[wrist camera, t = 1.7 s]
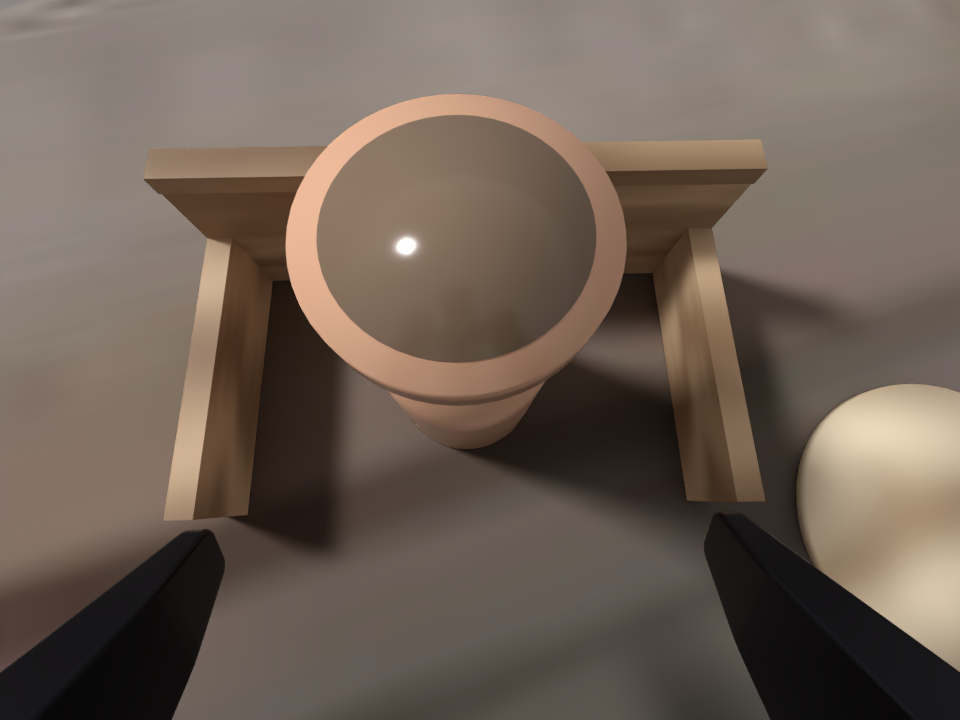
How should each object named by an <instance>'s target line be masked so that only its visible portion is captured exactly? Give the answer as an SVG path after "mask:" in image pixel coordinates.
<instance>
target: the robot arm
mask: <svg viewBox="0 0 960 720" xmlns="http://www.w3.org/2000/svg"><path fill="white" fill-rule="evenodd" d="M704 552H705V557H706V560H707V563H708V565H709V568H710V571H711V574H712V577H713V580H714V583H715V586H716V589H717V591H718V594H719V597H720V600H721V603H722V606H723V609H724V612H725V615H726V618H727V620H728V623H729V626H730V629H731V632H732V634H733V637H734V640H735V642H736V645H737V647H738V649H739V652H740V654H741V656H742V659H743V661H744V663H745V665H746V667H747V670H748V672H749V674H750V676H751V678H752V680H753V683H754V685H755V687H756V689H757V691H758V694H759V696H760V698H761V700H762V702H763V705H764V707H765V709H766V711H767V713H768V715H769V718H770V720H960V672H959V671H958V670H957V669H955V668H954V667H953V666H951V665H950V664H948V663H947V662H946V661H944V660H943V659H941V658H940V657H939V656H937V655H936V654H935V653H933V652H932V651H930V650H929V649H928V648H926V647H925V646H924V645H922V644H921V643H919V642H918V641H917V640H915V639H914V638H913V637H911V636H910V635H908V634H907V633H906V632H904V631H903V630H902V629H900V628H899V627H897V626H896V625H895V624H893V623H892V622H891V621H889V620H888V619H886V618H885V617H884V616H882V615H881V614H880V613H878V612H877V611H875V610H874V609H873V608H871V607H870V606H869V605H867V604H866V603H864V602H863V601H862V600H860V599H859V598H857V597H856V596H855V595H853V594H852V593H851V592H849V591H848V590H846V589H845V588H844V587H842V586H841V585H840V584H838V583H837V582H835V581H834V580H833V579H831V578H830V577H829V576H827V575H826V574H824V573H823V572H822V571H820V570H819V569H818V568H816V567H815V566H813V565H812V564H811V563H809V562H808V561H807V560H805V559H804V558H802V557H801V556H800V555H798V554H797V553H796V552H794V551H793V550H791V549H790V548H789V547H787V546H786V545H784V544H783V543H782V542H780V541H779V540H778V539H776V538H775V537H773V536H772V535H771V534H769V533H768V532H767V531H765V530H764V529H762V528H761V527H760V526H758V525H757V524H756V523H754V522H753V521H751V520H750V519H749V518H747V517H746V516H745V515H743V514H741V513H739V512H718V513H716V514H715V515H713V517H712V520H711V523H710V526H709V529H708V532H707V535H706V538H705V542H704ZM224 570H225V560H224V557H223V554H222V552H221V549H220V547H219V545H218V542H217V540H216V538H215V535H214V533H213V532H212V531H211V530H209V529H194V530H186V531H184V532H182V533H181V534H179V535H178V536H177V537H175V538H174V539H173V540H171V541H170V542H169V543H167V544H166V545H165V546H164V547H162V548H161V549H160V550H158V551H157V552H156V553H155V554H153V555H152V556H151V557H149V558H148V559H147V560H145V561H144V562H143V563H142V564H140V565H139V566H138V567H136V568H135V569H134V570H132V571H131V572H130V573H129V574H127V575H126V576H125V577H123V578H122V579H121V580H120V581H118V582H117V583H116V584H114V585H113V586H112V587H110V588H109V589H108V590H107V591H105V592H104V593H103V594H101V595H100V596H99V597H97V598H96V599H95V600H94V601H92V602H91V603H90V604H88V605H87V606H86V607H85V608H83V609H82V610H81V611H79V612H78V613H77V614H75V615H74V616H73V617H72V618H70V619H69V620H68V621H66V622H65V623H64V624H62V625H61V626H60V627H59V628H57V629H56V630H55V631H53V632H52V633H51V634H50V635H48V636H47V637H46V638H44V639H43V640H42V641H40V642H39V643H38V644H37V645H35V646H34V647H33V648H31V649H30V650H29V651H27V652H26V653H25V654H24V655H22V656H21V657H20V658H18V659H17V660H16V661H15V662H13V663H12V664H11V665H9V666H8V667H7V668H5V669H4V670H3V671H2V672H0V720H172V717H173V715H174V713H175V710H176V708H177V706H178V703H179V701H180V699H181V696H182V694H183V692H184V689H185V687H186V684H187V682H188V680H189V677H190V675H191V672H192V670H193V667H194V665H195V662H196V659H197V656H198V653H199V650H200V647H201V644H202V641H203V638H204V635H205V632H206V628H207V625H208V622H209V619H210V616H211V613H212V609H213V606H214V603H215V600H216V597H217V594H218V590H219V587H220V584H221V581H222V578H223V574H224Z"/></svg>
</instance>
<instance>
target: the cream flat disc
mask: <svg viewBox="0 0 960 720" xmlns="http://www.w3.org/2000/svg"><path fill="white" fill-rule="evenodd" d="M796 506H797V514H798V522H799V526H800V530H801V534H802V538H803V542H804V544H805V547H806V550H807V553H808V555H809V558H810V561H811V563H812V565H813V566H815V567H816V568H818V569H819V570H820V571H822V572H823V573H824V574H826V575H827V576H829V577H830V578H831V579H833V580H834V581H835V582H837V583H838V584H840V585H841V586H842V587H844V588H845V589H846V590H848V591H849V592H851V593H852V594H853V595H855V596H856V597H857V598H859V599H860V600H862V601H863V602H864V603H866V604H867V605H869V606H870V607H871V608H873V609H874V610H875V611H877V612H878V613H880V614H881V615H882V616H884V617H885V618H886V619H888V620H889V621H891V622H892V623H893V624H895V625H896V626H897V627H899V628H900V629H902V630H903V631H904V632H906V633H907V634H908V635H910V636H911V637H913V638H914V639H915V640H917V641H918V642H919V643H921V644H922V645H924V646H925V647H926V648H928V649H929V650H930V651H932V652H933V653H935V654H936V655H937V656H939V657H940V658H941V659H943V660H944V661H946V662H947V663H948V664H950V665H951V666H953V667H954V668H955V669H957V670H958V671H959V672H960V393H959V392H956V391H953V390H949V389H946V388H941V387H936V386H930V385H919V384H902V385H892V386H887V387H882V388H878V389H874V390H870V391H867V392H864V393H861V394H858V395H856V396H853V397H851V398H850V399H848V400H846V401H844V402H842V403H840V404H839V405H838V406H837V407H835V408H834V409H833V410H831V411H830V412H829V413H828V414H827V415H826V416H825V417H824V418H823V419H822V420H821V421H820V422H819V424H818V425H817V426H816V428H815V429H814V431H813V432H812V434H811V435H810V437H809V439H808V442H807V444H806V446H805V448H804V450H803V453H802V457H801V460H800V464H799V467H798V474H797V481H796Z"/></svg>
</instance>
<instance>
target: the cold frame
mask: <svg viewBox="0 0 960 720" xmlns="http://www.w3.org/2000/svg"><path fill="white" fill-rule="evenodd" d="M582 143H583V144H584V145H585V146H586V147H587V148H588V149H589V150H590V152H591V153H592V154H593V155H594V156H595V157H596V158H597V160H598V161H599V162H600V164H601V165H602V167H603V168H604V170H605V171H606V173H607V174H608V176H609V178H610V180H611V182H612V184H613V186H614V188H615V190H616V192H617V195H618V198H619V201H620V204H621V207H622V210H623V215H624V221H625V227H626V244H627V252H626V260H625V268H624V273H653V279H654V286H655V292H656V299H657V306H658V312H659V319H660V325H661V332H662V339H663V345H664V352H665V359H666V365H667V372H668V378H669V385H670V392H671V398H672V405H673V411H674V418H675V425H676V431H677V438H678V444H679V451H680V458H681V464H682V471H683V478H684V484H685V491H686V497H687V501H716V502H755V501H765V496H764V491H763V486H762V481H761V476H760V470H759V465H758V460H757V455H756V450H755V445H754V440H753V435H752V430H751V425H750V420H749V415H748V410H747V405H746V400H745V395H744V389H743V384H742V379H741V374H740V369H739V364H738V359H737V354H736V349H735V344H734V339H733V334H732V329H731V324H730V319H729V314H728V308H727V303H726V298H725V293H724V288H723V283H722V278H721V273H720V268H719V263H718V258H717V253H716V248H715V243H714V238H713V233H712V227H713V226H714V225H715V224H716V223H717V222H718V221H719V219H720V218H721V217H722V216H723V215H724V214H725V213H726V212H727V210H728V209H729V208H730V207H731V206H732V205H733V204H734V203H735V201H736V200H737V199H738V198H739V197H740V196H741V195H742V194H743V193H744V191H745V190H746V189H747V188H748V187H749V186H750V185H751V184H754V183H755V182H756V181H757V180H758V179H759V178H760V177H761V175H762V174H763V173H764V172H765V171H766V170H767V169H768V168H767V164H766V160H765V156H764V152H763V148H762V144H761V140H702V141H637V142H582ZM327 147H328V146H308V147H242V148H176V149H149V153H148V157H147V162H146V167H145V172H144V176H143V179H144V180H145V181H146V182H147V183H148V184H149V185H150V186H151V187H152V188H153V189H154V190H155V191H156V192H157V193H158V194H162V195H163V196H164V197H165V198H166V199H167V200H169V201H170V202H171V203H172V204H173V205H174V206H175V207H176V208H177V209H178V210H179V211H180V212H181V213H182V214H183V215H184V216H185V217H186V218H187V219H188V220H189V221H190V222H191V223H192V224H193V225H194V226H195V227H196V228H197V229H199V230H200V231H201V232H202V233H203V234H204V235H205V236H206V237H207V243H206V250H205V256H204V263H203V269H202V275H201V282H200V288H199V295H198V301H197V307H196V314H195V320H194V327H193V333H192V339H191V346H190V352H189V359H188V365H187V372H186V378H185V384H184V391H183V397H182V404H181V410H180V416H179V423H178V429H177V436H176V442H175V448H174V455H173V461H172V468H171V474H170V480H169V487H168V493H167V500H166V506H165V513H164V519H163V521H170V520H196V519H207V518H218V517H230V516H241V515H248V507H249V498H250V489H251V479H252V470H253V461H254V451H255V442H256V433H257V423H258V414H259V405H260V395H261V386H262V377H263V367H264V358H265V349H266V339H267V330H268V320H269V311H270V302H271V292H272V283H273V281H290V276H289V272H288V268H287V259H286V232H287V224H288V219H289V215H290V210H291V206H292V204H293V201H294V198H295V196H296V193H297V190H298V188H299V186H300V184H301V183H302V181H303V179H304V177H305V175H306V173H307V172H308V170H309V169H310V167H311V166H312V165H313V163H314V162H315V161H316V159H317V158H318V156H319V155H320V154H321V153H322V152H323V151H324V150H325V149H326V148H327ZM624 273H623V274H624Z"/></svg>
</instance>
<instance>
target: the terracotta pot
mask: <svg viewBox="0 0 960 720" xmlns="http://www.w3.org/2000/svg"><path fill="white" fill-rule="evenodd" d="M626 252H627V244H626V227H625V221H624V215H623V210H622V207H621V204H620V201H619V198H618V195H617V192H616V190H615V188H614V186H613V184H612V182H611V180H610V178H609V176H608V174H607V173H606V171H605V170H604V168H603V167H602V165H601V164H600V162H599V161H598V160H597V158H596V157H595V156H594V155H593V154H592V153H591V152H590V150H589V149H588V148H587V147H586V146H585V145H584V144H583V143H582V142H581V141H580V140H579V139H578V138H576V137H575V136H574V135H573V134H572V133H571V132H569V131H568V130H567V129H565V128H564V127H562V126H561V125H559V124H558V123H557V122H555V121H553V120H552V119H550V118H548V117H546V116H544V115H542V114H541V113H539V112H537V111H534V110H532V109H529V108H527V107H524V106H522V105H519V104H516V103H513V102H509V101H506V100H502V99H498V98H492V97H486V96H481V95H466V94H449V95H435V96H428V97H421V98H417V99H413V100H409V101H405V102H401V103H398V104H395V105H393V106H390V107H387V108H385V109H382V110H380V111H378V112H376V113H374V114H372V115H370V116H368V117H366V118H364V119H362V120H361V121H359V122H358V123H356V124H355V125H353V126H352V127H350V128H348V129H347V130H346V131H345V132H343V133H342V134H341V135H340V136H339V137H337V138H336V139H335V140H334V141H333V142H332V143H331V144H330V145H329V146H328V147H327V148H326V149H325V150H324V151H323V152H322V153H321V154H320V155H319V156H318V158H317V159H316V161H315V162H314V163H313V165H312V166H311V167H310V169H309V170H308V172H307V173H306V175H305V177H304V179H303V181H302V183H301V184H300V186H299V188H298V190H297V193H296V196H295V198H294V201H293V204H292V206H291V210H290V215H289V219H288V224H287V232H286V259H287V268H288V272H289V276H290V281H291V285H292V288H293V290H294V293H295V295H296V298H297V300H298V303H299V305H300V307H301V309H302V310H303V312H304V314H305V315H306V317H307V319H308V321H309V322H310V324H311V325H312V326H313V328H314V329H315V330H316V331H317V333H318V334H319V335H320V336H321V338H322V339H323V340H324V341H325V342H326V343H327V344H328V345H329V346H330V347H331V348H332V349H333V351H334V352H335V353H336V354H337V355H338V356H339V357H340V358H341V359H342V360H344V361H345V362H346V363H347V364H348V365H349V366H350V367H351V368H352V369H353V370H354V371H356V372H357V373H358V374H360V375H361V376H363V377H364V378H366V379H367V380H369V381H370V382H372V383H373V384H375V385H377V386H379V387H381V388H383V389H385V390H387V391H388V392H389V393H390V394H391V396H392V397H393V398H394V399H395V400H396V402H397V403H398V404H399V405H400V406H401V408H402V409H403V410H404V411H405V413H406V414H407V415H408V416H409V417H410V419H411V420H412V421H413V422H414V423H415V425H416V426H417V427H418V428H419V429H420V430H421V431H422V432H423V433H424V434H425V435H426V436H428V437H429V438H431V439H432V440H434V441H436V442H438V443H440V444H442V445H445V446H448V447H452V448H457V449H476V448H481V447H485V446H488V445H491V444H493V443H495V442H497V441H499V440H501V439H502V438H504V437H505V436H507V435H508V434H509V433H510V432H511V431H512V430H513V429H514V428H515V427H516V426H517V425H518V423H519V422H520V420H521V419H522V417H523V416H524V414H525V413H526V411H527V409H528V408H529V406H530V405H531V403H532V401H533V400H534V398H535V397H536V395H537V393H538V392H539V390H540V389H541V387H542V386H543V384H544V382H545V381H546V380H547V379H549V378H550V377H552V376H553V375H555V374H556V373H558V372H559V371H560V370H561V369H562V368H563V367H564V366H566V365H567V364H568V363H569V362H570V361H571V360H572V359H573V358H574V357H575V356H576V355H577V354H578V353H579V351H580V350H581V349H582V348H583V347H584V346H585V344H586V343H587V342H588V340H589V339H590V338H591V336H592V335H593V334H594V332H595V331H596V330H597V328H598V327H599V325H600V324H601V322H602V321H603V319H604V318H605V316H606V314H607V313H608V311H609V310H610V308H611V306H612V304H613V301H614V299H615V297H616V295H617V292H618V290H619V287H620V283H621V280H622V276H623V273H624V268H625V260H626Z"/></svg>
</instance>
